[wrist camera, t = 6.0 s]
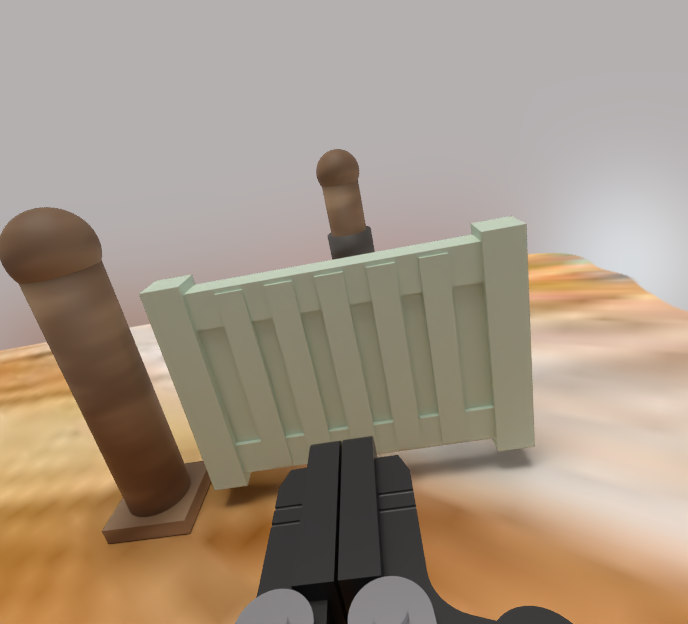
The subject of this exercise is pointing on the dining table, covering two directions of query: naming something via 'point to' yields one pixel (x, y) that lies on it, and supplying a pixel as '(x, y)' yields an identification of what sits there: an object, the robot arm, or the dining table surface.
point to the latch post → (344, 205)
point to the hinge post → (103, 372)
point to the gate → (354, 352)
